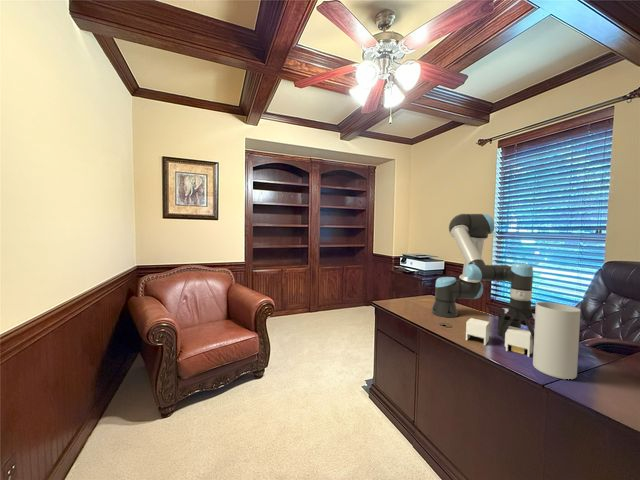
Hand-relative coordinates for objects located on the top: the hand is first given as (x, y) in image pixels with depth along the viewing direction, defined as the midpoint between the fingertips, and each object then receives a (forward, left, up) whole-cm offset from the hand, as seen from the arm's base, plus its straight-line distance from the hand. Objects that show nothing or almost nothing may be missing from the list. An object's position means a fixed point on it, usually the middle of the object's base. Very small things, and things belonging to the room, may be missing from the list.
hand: (518, 349), depth 117 cm
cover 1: (0, -16, -1) cm, 16 cm away
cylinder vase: (+12, +12, -1) cm, 17 cm away
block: (0, 0, -1) cm, 1 cm away
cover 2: (0, 0, -1) cm, 1 cm away
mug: (-19, -5, -1) cm, 20 cm away
